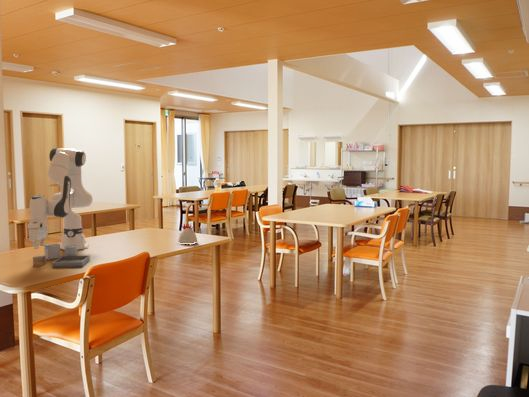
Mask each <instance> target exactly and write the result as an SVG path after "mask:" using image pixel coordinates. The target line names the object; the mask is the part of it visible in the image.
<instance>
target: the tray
mask: <svg viewBox="0 0 529 397" xmlns="http://www.w3.org/2000/svg"><path fill="white" fill-rule="evenodd" d="M90 261H91V257H90V255H77V256H65V255H60V258H56V259H55V260H54V261H52V265H51V266H52V268H53V269H59V268H60V267H62V269H64V267H65V268H66V267H68V268H71V267H72V268H83V267H84V266H86V264H88V262H90ZM72 268H71V269H72ZM60 269H61V268H60Z"/></svg>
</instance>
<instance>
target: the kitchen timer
mask: <svg viewBox="0 0 529 397" xmlns="http://www.w3.org/2000/svg"><path fill="white" fill-rule="evenodd" d="M181 226H182V229H183V230H182V231H181V232H180V233H179V236H178V239H177V243H178V242H180V243H194V242H197V243H198V237H197V235H196V232H195V231H194V230H193V228H194V226H192V224H189V223H183V225H181Z"/></svg>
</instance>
